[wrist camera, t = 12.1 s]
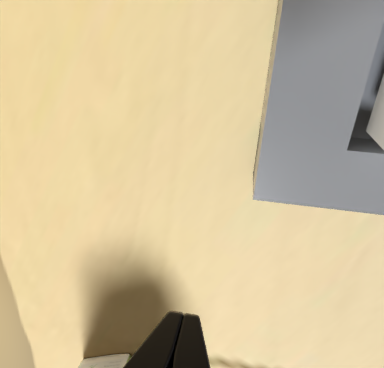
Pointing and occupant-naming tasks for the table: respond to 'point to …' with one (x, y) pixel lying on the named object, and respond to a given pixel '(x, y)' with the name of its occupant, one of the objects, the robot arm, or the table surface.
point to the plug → (377, 118)
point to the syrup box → (106, 361)
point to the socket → (322, 107)
